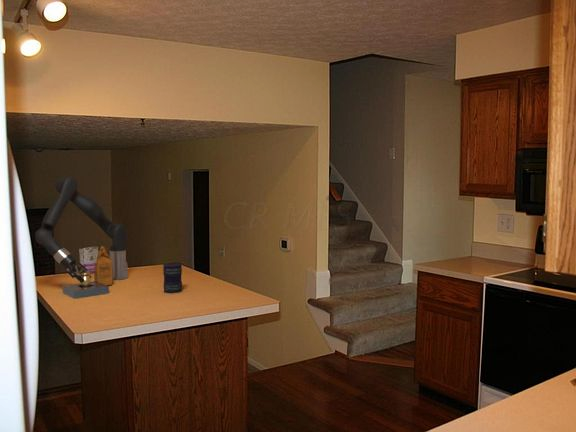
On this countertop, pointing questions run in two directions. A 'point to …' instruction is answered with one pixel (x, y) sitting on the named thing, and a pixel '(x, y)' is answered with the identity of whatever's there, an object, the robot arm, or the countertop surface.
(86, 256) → the candy bar box
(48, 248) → the robot arm
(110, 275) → the coffee package
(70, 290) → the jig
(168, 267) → the storage jar
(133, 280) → the countertop surface
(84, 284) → the brass mushroom peg
